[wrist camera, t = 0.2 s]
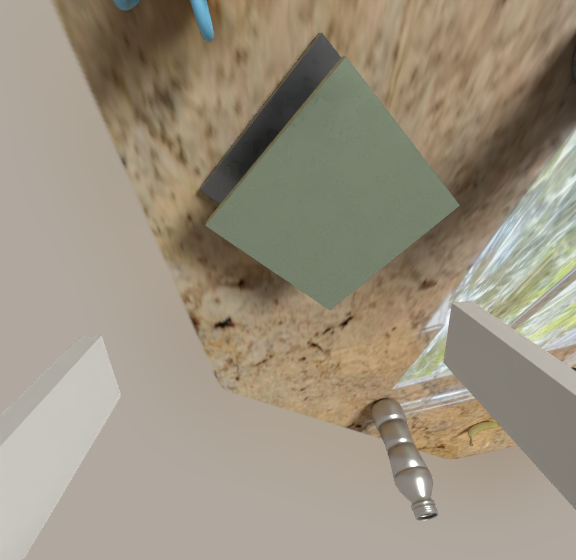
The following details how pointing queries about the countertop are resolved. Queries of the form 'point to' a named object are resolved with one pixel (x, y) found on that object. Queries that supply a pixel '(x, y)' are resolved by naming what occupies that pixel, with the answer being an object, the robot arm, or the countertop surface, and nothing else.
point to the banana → (481, 428)
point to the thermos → (574, 65)
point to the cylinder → (200, 8)
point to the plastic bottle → (405, 458)
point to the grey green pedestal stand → (324, 181)
